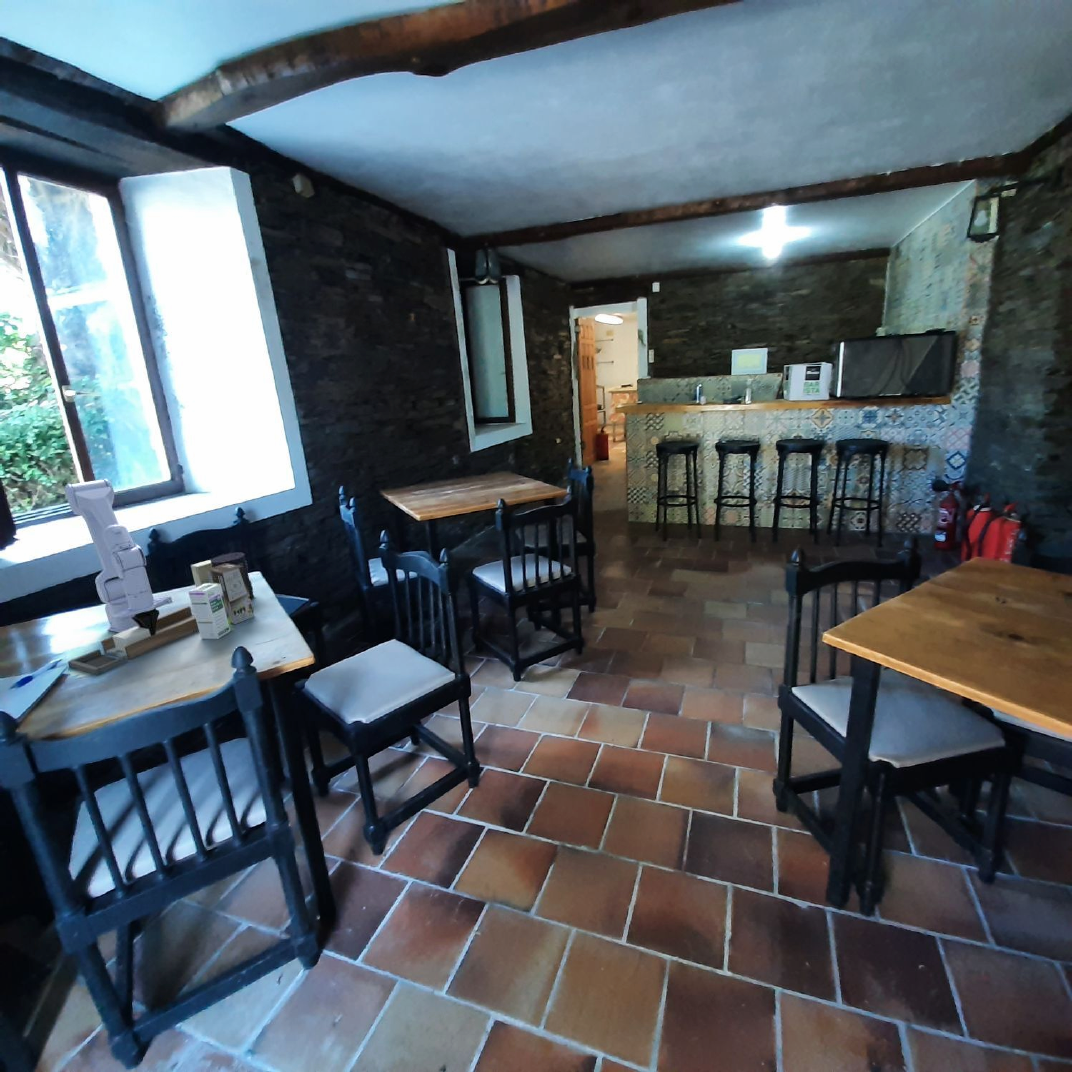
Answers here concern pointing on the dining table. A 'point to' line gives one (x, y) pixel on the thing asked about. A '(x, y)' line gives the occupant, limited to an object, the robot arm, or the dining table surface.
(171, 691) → the dining table surface
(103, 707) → the dining table surface
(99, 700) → the dining table surface
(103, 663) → the tray
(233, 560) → the storage jar
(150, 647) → the walled channel
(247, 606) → the coffee box
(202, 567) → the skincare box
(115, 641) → the cream block
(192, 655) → the dining table surface
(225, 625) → the syrup box
